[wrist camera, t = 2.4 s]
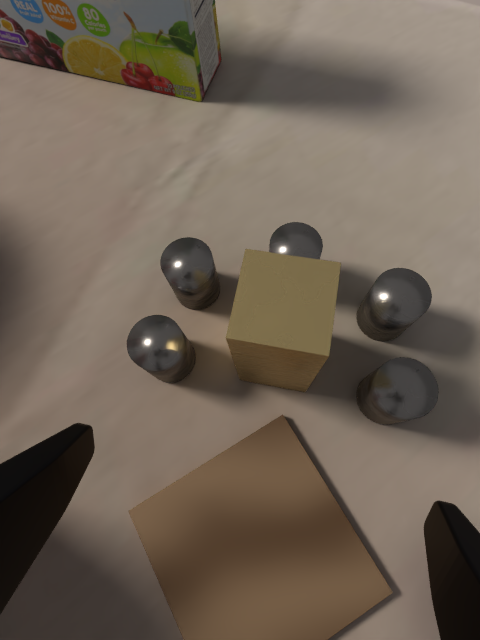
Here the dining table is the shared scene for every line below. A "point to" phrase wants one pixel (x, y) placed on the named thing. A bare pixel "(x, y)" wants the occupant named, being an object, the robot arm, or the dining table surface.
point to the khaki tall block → (282, 318)
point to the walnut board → (257, 546)
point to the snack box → (118, 41)
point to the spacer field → (372, 317)
